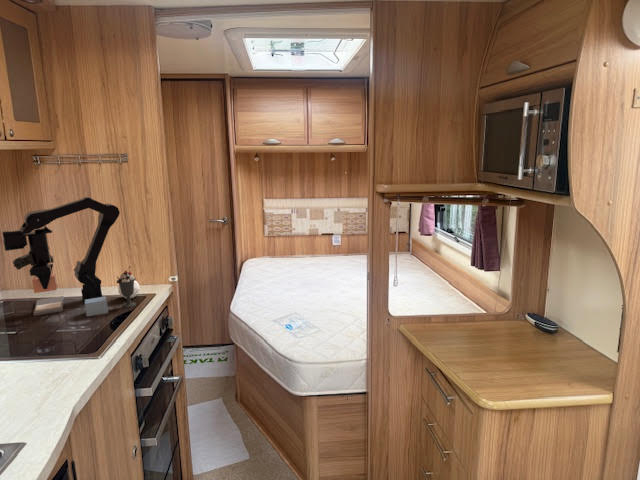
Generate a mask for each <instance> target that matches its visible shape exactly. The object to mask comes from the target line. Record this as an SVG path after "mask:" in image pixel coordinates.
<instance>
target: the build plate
mask: <svg viewBox="0 0 640 480" xmlns="http://www.w3.org/2000/svg"><path fill="white" fill-rule="evenodd" d="M63 299H65V296H64V295H61V296H55V297H48V298H41V299H37V300H36V303H35V307H34V309H33V316H34V317H35V316H41V315H46V314H54V313H59V312H63V308H64V302H63Z"/></svg>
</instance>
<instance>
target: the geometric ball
mask: <svg viewBox="0 0 640 480" xmlns="http://www.w3.org/2000/svg"><path fill="white" fill-rule="evenodd" d="M117 289H118V294H119V295H120V296H121V297H122V298H124V299H127V297H125V296H124V295H123V294H122V292H121V289H120V285H119V284H118V288H117ZM139 292H140V284H139V283H138V281H137V280H135V281H134V292H133V294H132V295H131V296H130V299H134V298H135V297H136V296H137V295H138V294H139Z"/></svg>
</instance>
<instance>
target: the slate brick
mask: <svg viewBox="0 0 640 480" xmlns="http://www.w3.org/2000/svg"><path fill="white" fill-rule="evenodd" d="M84 308H85V314H86V317H91V316H99V315H104V314H109V308H108V300H107V296H102V297H99V298H93V299H86V300H85V303H84Z"/></svg>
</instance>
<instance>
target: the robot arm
mask: <svg viewBox="0 0 640 480" xmlns="http://www.w3.org/2000/svg"><path fill="white" fill-rule="evenodd" d="M87 209H90V210H93V211H94V212H98V219H97V227H96V229H95V231H94V234H93V236H92V239H91V240H90V244H89V245H88V248H87V251H86V254H85V255H84V256H85V257H84V258H83V259H82V261H80V260H77V261H76V265H75V267H74V269H73V272H74V277H75V279H77V280H78V282H79V283H80V284H82V288H81V289H80V290H81V291H80V292H81V297H82V301H83V303H84V304H85V300H86V299H93V298H99V297H103V294H102V285H101V284H102V280H101V279H100V278H99V277H98V275H96V270H97V260H98V259H99V256H100V253H101V251H102V248H103V246H104V243H105V241H106V239H107V235H108V233H109V231H110V229H111V227H112V226H113V225H115V223H116V221H117V220H118V218H119V216H120V210H119V208H118V207H117V206H116V205H113V204H111V203H102V202H100V201H97V200H95V199H93V198H91V197H89V196H83V197H82V198H80V199H77V200H73V201H70V202H68V203H64V204H61V205H59V206H54V207H53V208H48V209H47V208H46V209H38V210H33V211H28V212H27V213H25V214H24V215H25V216H24V217H23V218H24V219H23V220H24V222H23V224H22V225H21V227H20V228H19V229H17V230H10V231H8V230H7V231H6V230H4V231H2V232H1V233H2V244H3V248H4V251H5V252H9V251H14V250H15V251H16V250H23V249H25V247H26V246H28V245H29V251H28V253H27V254H24V255H22V256H19V257H17V258H14V260H13V261H12V264H13V267H14V268H15V269H17V271H19V270H21V269H22V268H24V267H27V266H29V265H30V266H31V267H30V268H29V276H31V277H35V276H36V277H38V279H39V281H40V283H41V285H42V287H43V289H47V287H48V283H49V279H50V276H51V274H52V271H53V267H54V262H55V261H54V256H52V254H50V246H49V244H48V236H47V234H52V233H53V231H52V230H51V229H50V228H48V226H47V225H49V224H50V223H52V222H53V221H56V220H57V219H61V218H63V217H67V216H69V215H72V214H75V213H78V212H82V211H84V210H87ZM27 238H28V240H27Z"/></svg>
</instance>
